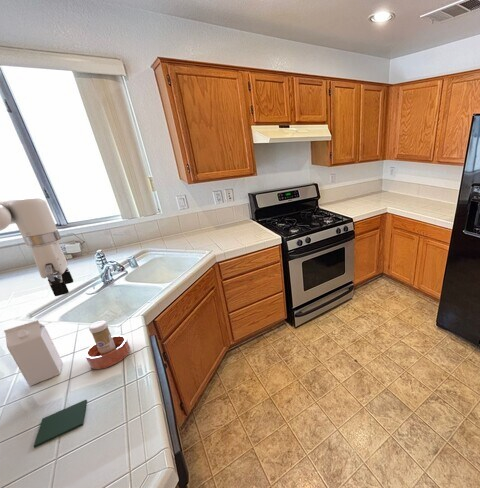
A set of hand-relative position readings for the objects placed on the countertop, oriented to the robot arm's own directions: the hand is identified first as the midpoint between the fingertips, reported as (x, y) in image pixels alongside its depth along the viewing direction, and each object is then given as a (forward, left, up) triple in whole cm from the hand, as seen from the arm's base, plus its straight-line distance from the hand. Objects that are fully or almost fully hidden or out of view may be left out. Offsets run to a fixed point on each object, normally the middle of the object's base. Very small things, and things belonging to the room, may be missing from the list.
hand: (65, 288), depth 85 cm
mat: (-4, -29, -26) cm, 39 cm away
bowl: (+5, -7, -26) cm, 28 cm away
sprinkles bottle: (+5, -7, -26) cm, 27 cm away
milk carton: (-12, -2, -26) cm, 29 cm away
